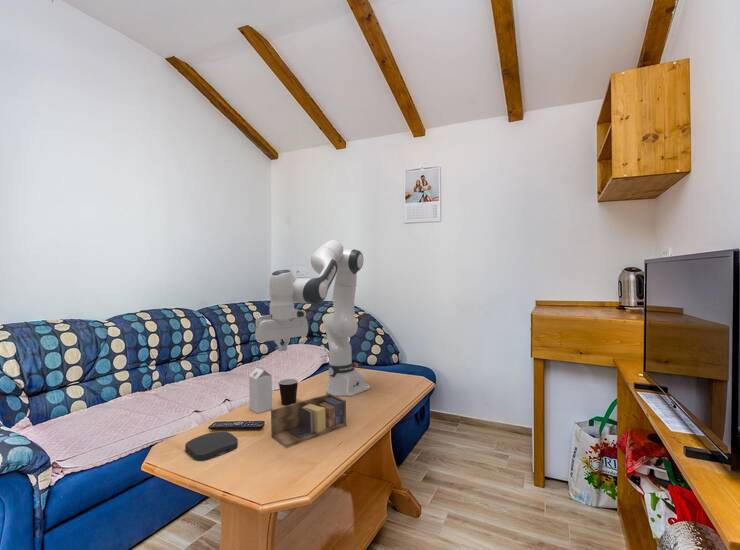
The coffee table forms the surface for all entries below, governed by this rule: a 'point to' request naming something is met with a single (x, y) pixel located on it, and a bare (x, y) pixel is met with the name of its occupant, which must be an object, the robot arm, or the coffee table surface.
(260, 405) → the milk carton
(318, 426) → the book
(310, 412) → the bookend
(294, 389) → the coffee mug
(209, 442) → the media streaming box
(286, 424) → the shelf
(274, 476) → the coffee table surface
